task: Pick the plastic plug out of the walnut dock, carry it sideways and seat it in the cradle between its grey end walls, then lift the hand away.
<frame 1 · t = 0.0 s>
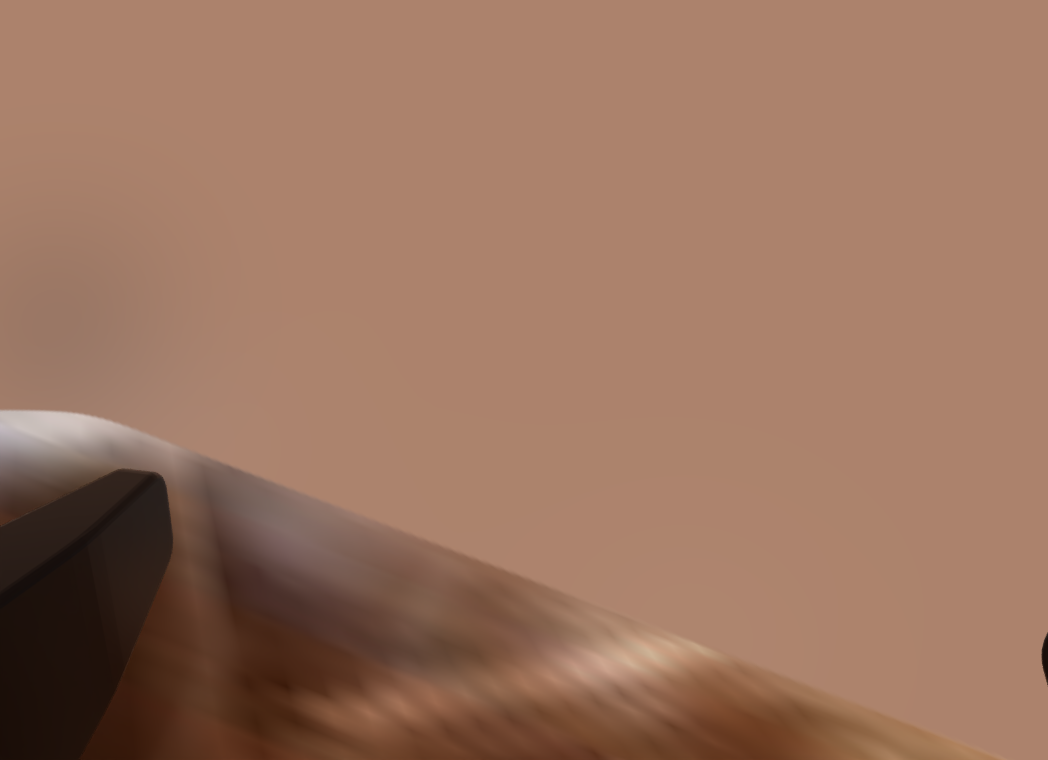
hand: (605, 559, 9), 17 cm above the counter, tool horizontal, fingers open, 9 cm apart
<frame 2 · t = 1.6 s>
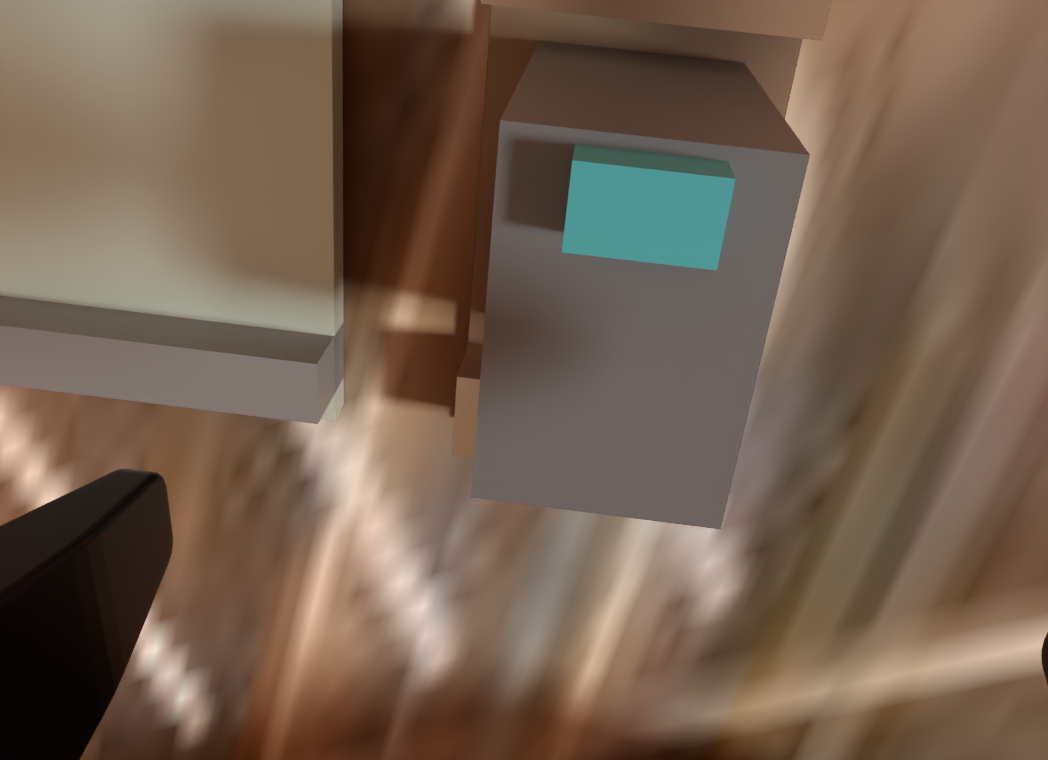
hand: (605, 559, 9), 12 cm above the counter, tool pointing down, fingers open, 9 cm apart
walnut dock: (620, 195, 20), on the counter
plug: (620, 200, 20), resting on walnut dock
cradle: (161, 143, 20), on the counter
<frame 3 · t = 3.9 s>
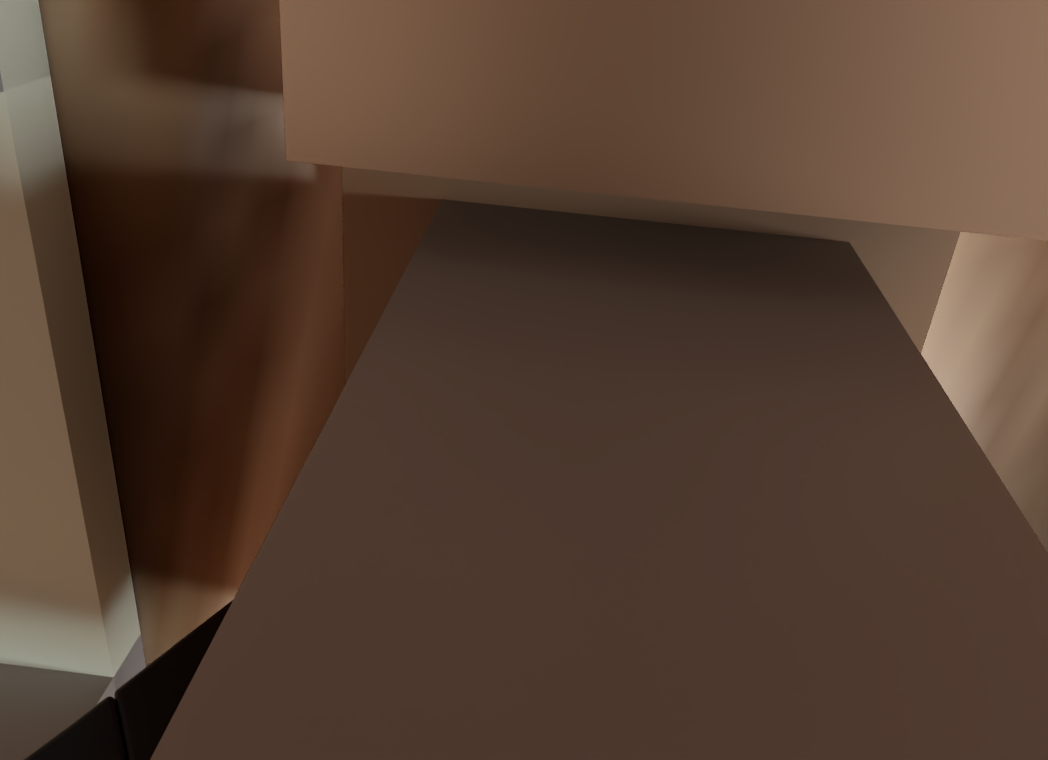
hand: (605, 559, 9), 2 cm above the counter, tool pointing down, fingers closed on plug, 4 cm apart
walnut dock: (606, 457, 11), on the counter
plug: (606, 472, 11), resting on walnut dock, touching gripper
when the fingers open (3 cm above the counter, at t = 8.9 s): plug stays where it is, resting on cradle.
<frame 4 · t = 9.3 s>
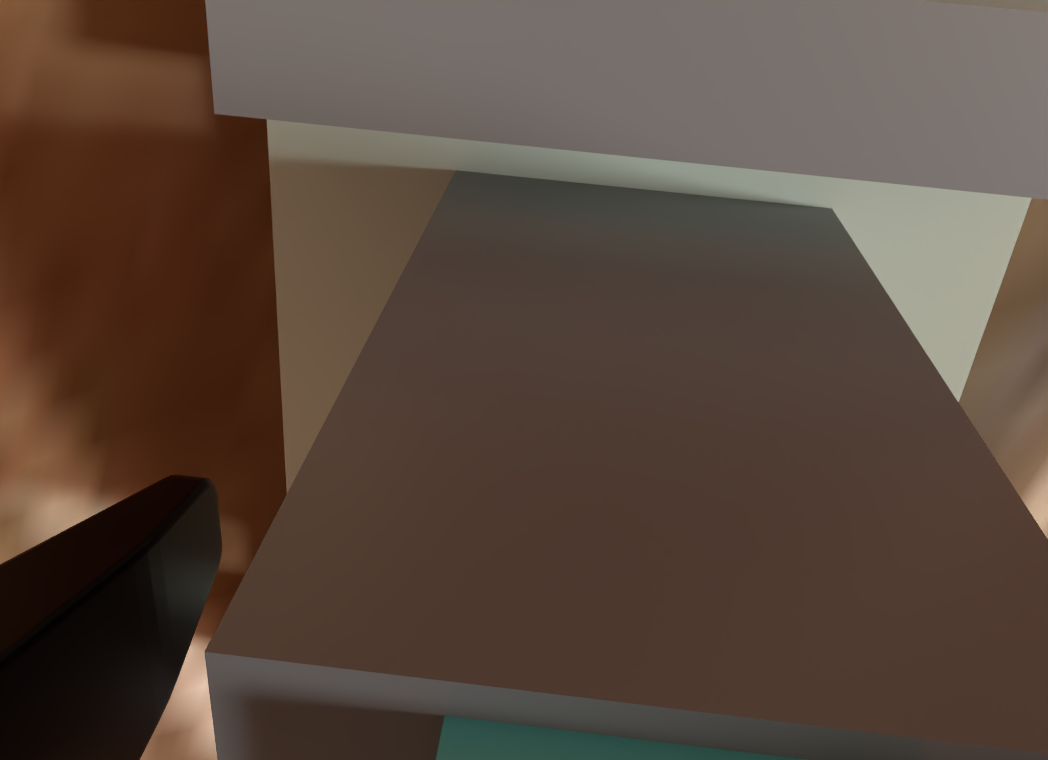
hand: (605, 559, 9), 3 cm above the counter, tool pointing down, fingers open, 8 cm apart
plug: (607, 428, 11), point 1 cm above the counter, touching cradle
cradle: (604, 398, 12), on the counter
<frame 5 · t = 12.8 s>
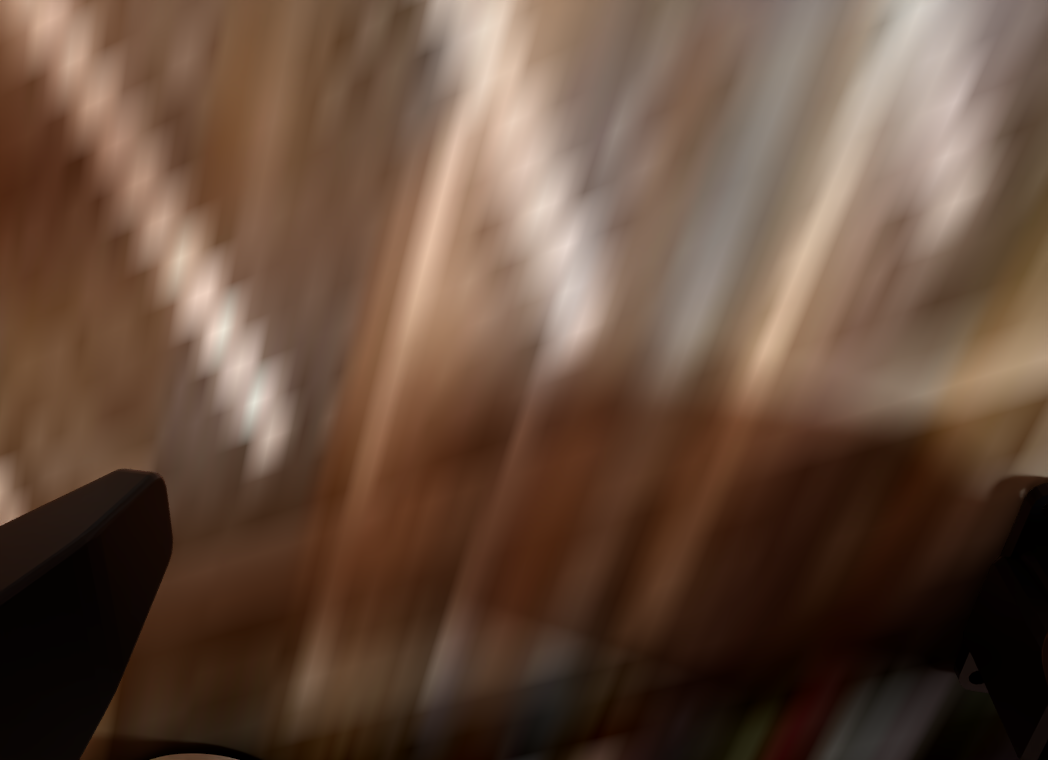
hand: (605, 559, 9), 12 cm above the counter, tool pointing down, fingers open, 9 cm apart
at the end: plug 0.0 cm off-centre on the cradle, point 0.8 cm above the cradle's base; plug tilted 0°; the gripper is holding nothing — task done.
